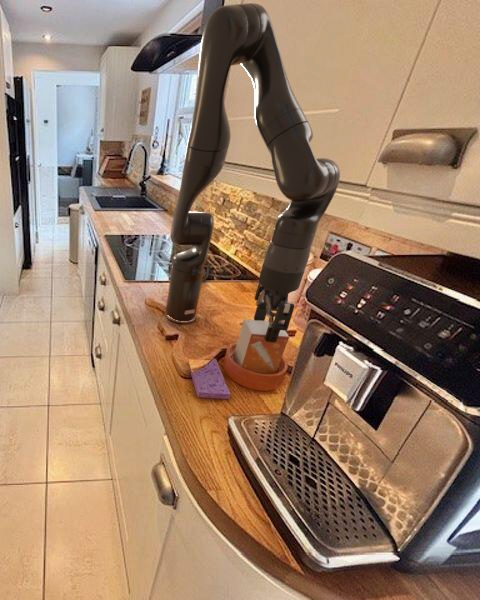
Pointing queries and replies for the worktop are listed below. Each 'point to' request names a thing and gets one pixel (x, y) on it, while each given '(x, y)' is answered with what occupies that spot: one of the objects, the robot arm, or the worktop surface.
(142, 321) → the worktop surface
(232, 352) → the bowl
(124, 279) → the worktop surface
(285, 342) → the small box
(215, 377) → the sponge
